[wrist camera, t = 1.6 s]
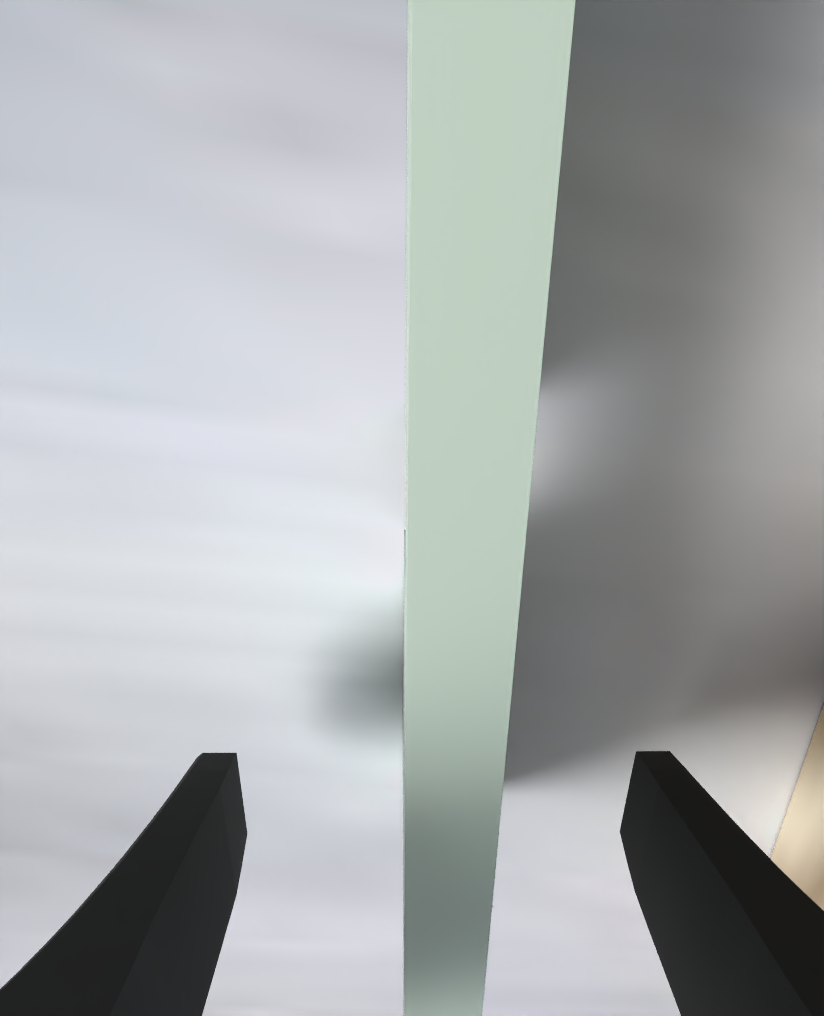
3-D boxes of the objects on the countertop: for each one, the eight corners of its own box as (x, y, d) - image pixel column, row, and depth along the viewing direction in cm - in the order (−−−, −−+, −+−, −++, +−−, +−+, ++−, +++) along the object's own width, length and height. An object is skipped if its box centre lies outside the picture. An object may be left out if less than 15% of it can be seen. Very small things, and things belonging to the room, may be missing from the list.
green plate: (455, 796, 15) (477, 1051, 10) (402, 797, 15) (403, 1052, 10) (502, -115, 8) (621, -500, 4) (408, -116, 8) (417, -512, 4)
